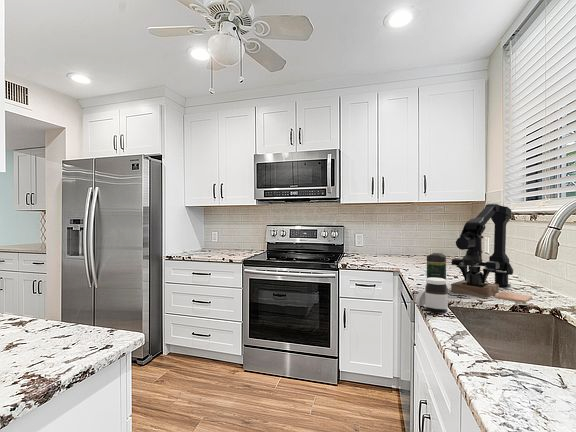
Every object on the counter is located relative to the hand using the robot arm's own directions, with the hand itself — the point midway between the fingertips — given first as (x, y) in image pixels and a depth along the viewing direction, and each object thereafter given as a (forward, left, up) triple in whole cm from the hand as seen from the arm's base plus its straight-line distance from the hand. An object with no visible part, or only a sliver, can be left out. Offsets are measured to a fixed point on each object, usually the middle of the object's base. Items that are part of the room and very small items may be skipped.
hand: (474, 282), depth 148 cm
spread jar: (+41, -1, -5) cm, 42 cm away
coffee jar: (+17, -10, -5) cm, 20 cm away
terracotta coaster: (0, +15, -4) cm, 16 cm away
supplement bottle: (0, 0, -5) cm, 5 cm away
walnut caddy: (0, 0, -4) cm, 4 cm away
